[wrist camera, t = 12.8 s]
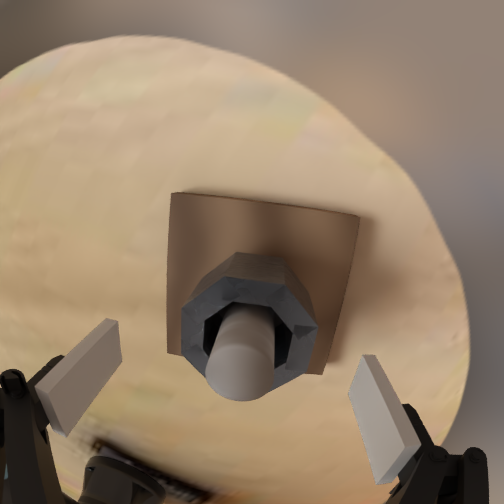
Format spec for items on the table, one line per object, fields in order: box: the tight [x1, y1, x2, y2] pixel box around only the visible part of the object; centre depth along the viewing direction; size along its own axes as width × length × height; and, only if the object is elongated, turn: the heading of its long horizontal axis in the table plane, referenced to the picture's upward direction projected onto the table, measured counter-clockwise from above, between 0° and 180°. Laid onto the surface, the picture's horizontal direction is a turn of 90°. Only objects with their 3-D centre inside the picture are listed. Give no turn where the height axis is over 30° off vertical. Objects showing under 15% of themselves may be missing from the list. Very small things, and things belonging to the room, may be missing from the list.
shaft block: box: [167, 192, 360, 401], centre depth 18 cm, size 14×14×12 cm
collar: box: [181, 252, 318, 393], centre depth 18 cm, size 7×7×5 cm
